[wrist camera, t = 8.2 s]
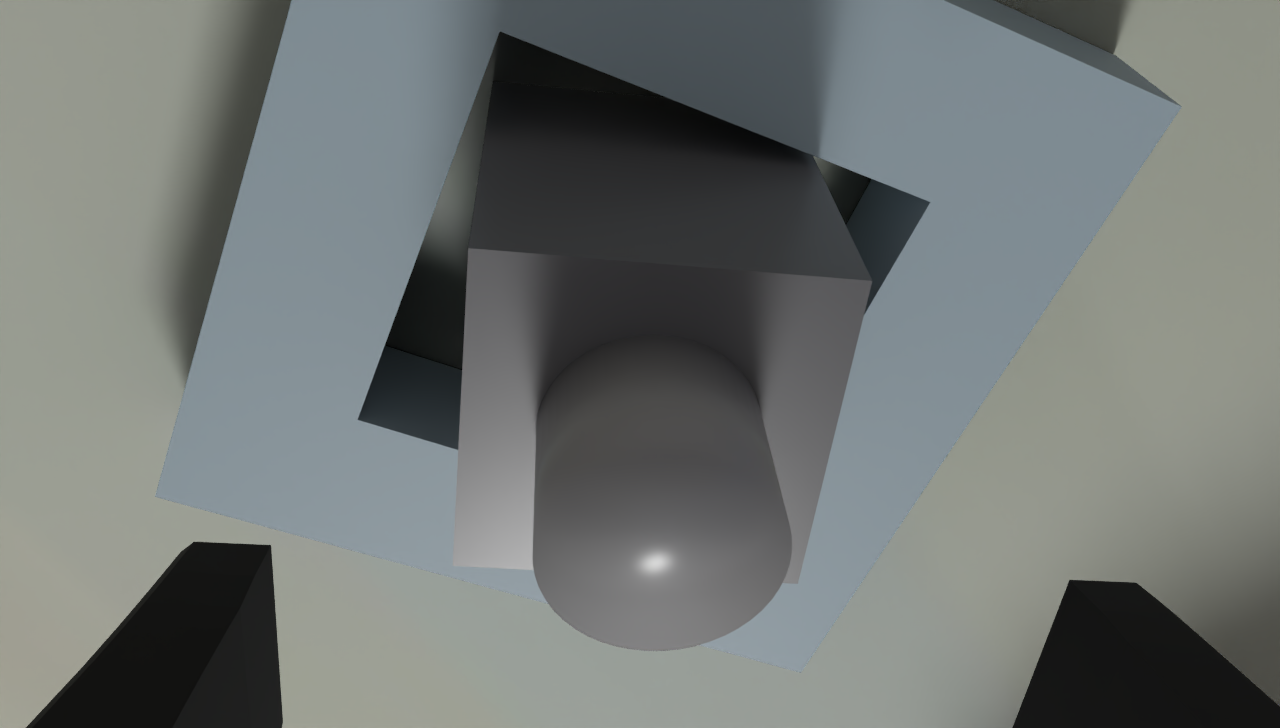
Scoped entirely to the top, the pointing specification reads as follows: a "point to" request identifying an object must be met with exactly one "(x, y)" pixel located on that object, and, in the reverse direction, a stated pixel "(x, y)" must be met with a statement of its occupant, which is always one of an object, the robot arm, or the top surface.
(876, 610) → the top surface
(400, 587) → the top surface
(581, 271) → the plug
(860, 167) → the socket plate
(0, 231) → the top surface
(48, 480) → the top surface
